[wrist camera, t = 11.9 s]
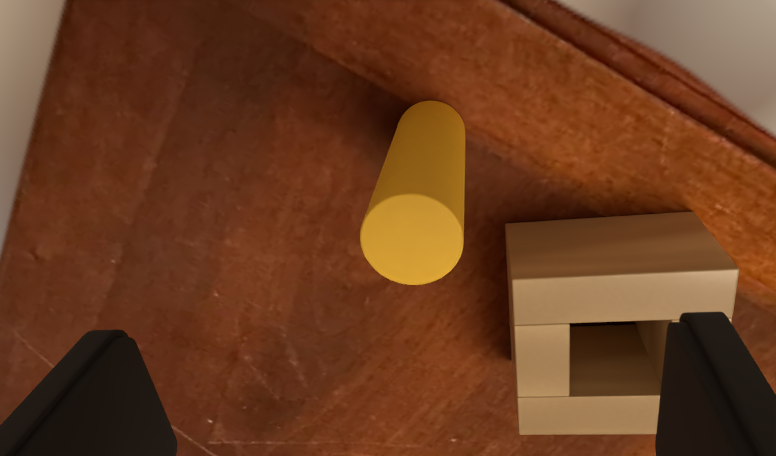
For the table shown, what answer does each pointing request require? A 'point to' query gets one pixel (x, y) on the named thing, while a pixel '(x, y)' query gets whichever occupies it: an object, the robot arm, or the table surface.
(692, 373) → the robot arm
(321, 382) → the table surface
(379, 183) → the peg
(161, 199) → the table surface
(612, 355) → the stand
